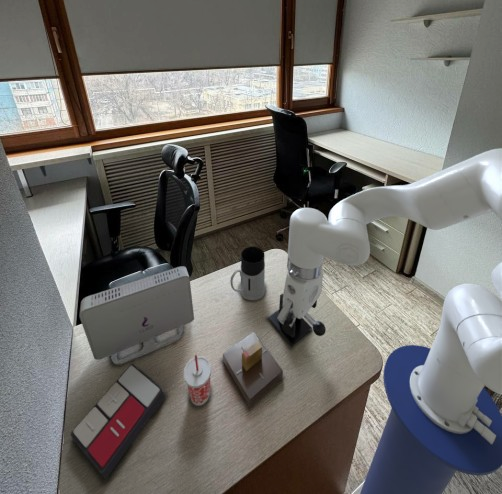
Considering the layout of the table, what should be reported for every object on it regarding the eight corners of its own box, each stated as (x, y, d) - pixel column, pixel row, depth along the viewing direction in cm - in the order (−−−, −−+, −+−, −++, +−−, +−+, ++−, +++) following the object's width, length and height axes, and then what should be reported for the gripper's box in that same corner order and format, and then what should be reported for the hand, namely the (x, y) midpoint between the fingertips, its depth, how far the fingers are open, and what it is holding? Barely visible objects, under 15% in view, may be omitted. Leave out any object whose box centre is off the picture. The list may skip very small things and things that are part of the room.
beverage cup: (182, 406, 61) (176, 368, 56) (192, 376, 67) (187, 339, 61) (208, 412, 60) (204, 374, 55) (216, 381, 66) (213, 344, 60)
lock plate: (282, 377, 67) (283, 369, 65) (249, 407, 61) (249, 399, 60) (253, 338, 76) (253, 330, 74) (222, 361, 70) (222, 353, 69)
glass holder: (270, 288, 91) (272, 253, 85) (242, 317, 81) (241, 280, 76) (251, 274, 97) (251, 241, 91) (222, 300, 87) (220, 265, 81)
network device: (96, 375, 67) (76, 320, 59) (98, 343, 74) (80, 290, 66) (196, 331, 77) (191, 280, 69) (189, 307, 84) (183, 258, 77)
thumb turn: (257, 352, 69) (257, 340, 67) (261, 358, 68) (262, 346, 66) (241, 365, 66) (241, 352, 65) (245, 371, 65) (245, 359, 63)
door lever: (327, 334, 68) (329, 325, 67) (319, 341, 67) (320, 333, 65) (291, 298, 78) (292, 290, 77) (283, 304, 76) (284, 295, 75)
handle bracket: (311, 330, 78) (315, 301, 73) (291, 347, 73) (294, 317, 69) (287, 305, 85) (289, 277, 81) (268, 319, 81) (269, 290, 76)
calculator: (68, 432, 54) (131, 360, 66) (74, 441, 56) (134, 370, 68) (100, 472, 49) (162, 387, 61) (106, 481, 51) (165, 397, 63)
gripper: (297, 298, 50) (292, 357, 56) (338, 249, 62) (330, 303, 68) (266, 277, 54) (264, 334, 61) (310, 235, 66) (304, 286, 73)
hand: (299, 317), depth 64 cm, fingers open, 9 cm apart
